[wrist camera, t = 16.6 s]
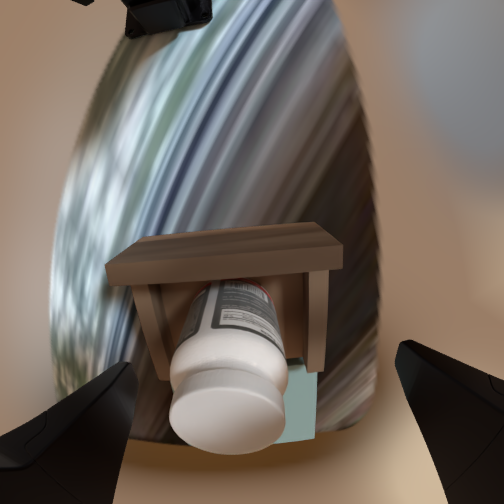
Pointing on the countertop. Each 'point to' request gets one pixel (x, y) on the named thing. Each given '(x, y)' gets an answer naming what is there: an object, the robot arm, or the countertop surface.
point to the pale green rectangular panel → (298, 402)
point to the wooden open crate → (228, 267)
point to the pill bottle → (229, 370)
